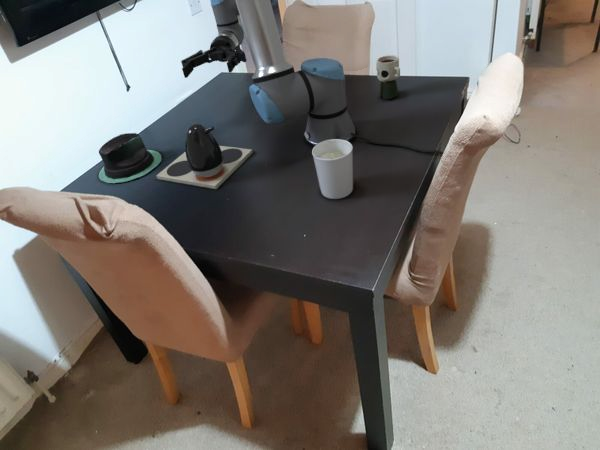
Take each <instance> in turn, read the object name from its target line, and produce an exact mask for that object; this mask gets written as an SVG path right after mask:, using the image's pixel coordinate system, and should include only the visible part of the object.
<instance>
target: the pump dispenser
mask: <svg viewBox="0 0 600 450" xmlns="http://www.w3.org/2000/svg"><path fill="white" fill-rule="evenodd" d="M214 130H215V126H213V125H211V126H209V127H206V126H205V125H204V124H202V123H193V124H191V125H189V126H188V128H187V129H186V132H185V138H184V150H185V151H184V152H186V158H187V163H188V166H189V168H190V169H191V170H192V171H193V173H194V174H196V175H197V176H199V177H203V178H207V177H212V176H214V175H216V174H218V173H219V172H220V171H221V169H222V167H223V160H224V156H223V153H222V151H221V149H220V146H221V145H220V144H219V143H218V141H217V139H216V137H215V136H214V135H213V133H212V132H213V131H214Z"/></svg>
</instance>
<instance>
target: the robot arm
mask: <svg viewBox="0 0 600 450" xmlns="http://www.w3.org/2000/svg"><path fill="white" fill-rule="evenodd" d="M209 1H210V7H211V10H212V13H213V17H214V20H215V23H216V24H215V25H216V29H217V33H218V34H217V35H216V36H215V38H214V39H213V40H212V42H210V46H209V49H207V50H205V51H204V50H202V49H199V50H198V51H197V52H195V53H194V54H191V55H190V56H187V57H186V58H184V59H181V61H180V63H181V66H182V68H181V71H182V73H183V76H184V78H185V79H187V78H188V77H189V76H190V75H191V74H192V72H193V71H194V69H195V68H197V67H199V66H202V65H204V64H212V63H213V62H220V63H226V66H227V67H226V68H227V71H228V73H230V74H231V73H232V72H233V71H234V70H235V67H237V66H239V64H241V62H242V63H246V62H247V61H248V60H247V56H246V52H245V51H243V49H242V48H241V45H242V44H243V42H244V38H246V41H247V45H248V48H249V52H250V55H251V59H252V63H253V65H254V69H255V70H254V73H253V75H252V77H251V79H252V81H253V83H252V84H251V85H249V88H248V89H249V90H248V91H249V94H250V98H251V101H252V103H253V106H254V108H255V110H256V111H257V113H258V115H259V117H260V118H261V119H262V121H264V123H266V124H268V125H275V124H279V123H284V122H285V121H288V120H290V119H294V118H297V117H300V116H303V115H307V122H306V127H305V131H304V134H303V136H304V137H305V141H306V144H307V145H309V146H311V147H313V148H314V147H315V146H316V145H317V144H319V143H321V142H323V141H326V140H331V139H341V140H346V141H348V142H350V143H351V141H353V140H354V138H358V139H361V140H363V141H367V142H368V143H371V144H373V145H380V146H392V147H394V146H395V147H400V148H406V149H409V150H412V151H416V152H420V153H425V154H435V153H436V154H439V155H441V156H443V155H442V154H443V153H444V152H443V151H441V150H439V149H423V148H417V147H414V146H411V145H407V144H402V143H397V142H383V141H382V142H381V141H376V140H372V139H370V138H367V137H365V136H362V135H359V134H356V126H355V124H354V123H353V120H352V118H351V116H350V113H349V112H348V105H347V92H346V76H345V73H344V67H343V64H342V63H341V62H340V61H339V60H337V59H334V58H328V57H314V58H309V59H306V60H304V61H302V62H301V64H300V67H299V68H300V70H297V71H295V68H294V65H293V64H291V63H290V62H288V61H287V59H286V56H285V52H284V47H283V44H282V39H281V36H280V33H279V28H278V25H277V21H276V16H275V14H274V10H273V6H276V5H277V4H278V2H279V0H209ZM239 17H240V20H241V24H242V25H241V24H240V21H239Z"/></svg>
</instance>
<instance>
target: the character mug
mask: <svg viewBox="0 0 600 450" xmlns="http://www.w3.org/2000/svg"><path fill="white" fill-rule="evenodd" d="M375 66H376V77H377V80H378V81H380V84H379V93H378V94H379V95H378V96H379V98H380V99H382V100H391V99H393V98H396V97H397V96H398V95H399V89H398V84H397V80H398V79H399V78H400V77H401V68H400V58H399V56H397V55H382V56H380V57H378V58H377V59H376V62H375Z"/></svg>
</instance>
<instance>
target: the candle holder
mask: <svg viewBox="0 0 600 450" xmlns="http://www.w3.org/2000/svg"><path fill="white" fill-rule="evenodd" d="M353 151H354V147H353V144H352V143H351V141H350V142H348V141H346V140H341V139H331V140H326V141H323V142H321V143H319V144H317V145H316V146H315V147H313V148H312V150H311V155H312V158H313V162H314V167H315V171H316V176H317V181H318V187H319V189H320V192H321V195H322V196H323V197H324V198H327V199H329V200H339V199H345V198H346V197H348V196H349V195H351V194H352V192H353V189H354V162H353V161H354V157H353Z"/></svg>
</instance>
